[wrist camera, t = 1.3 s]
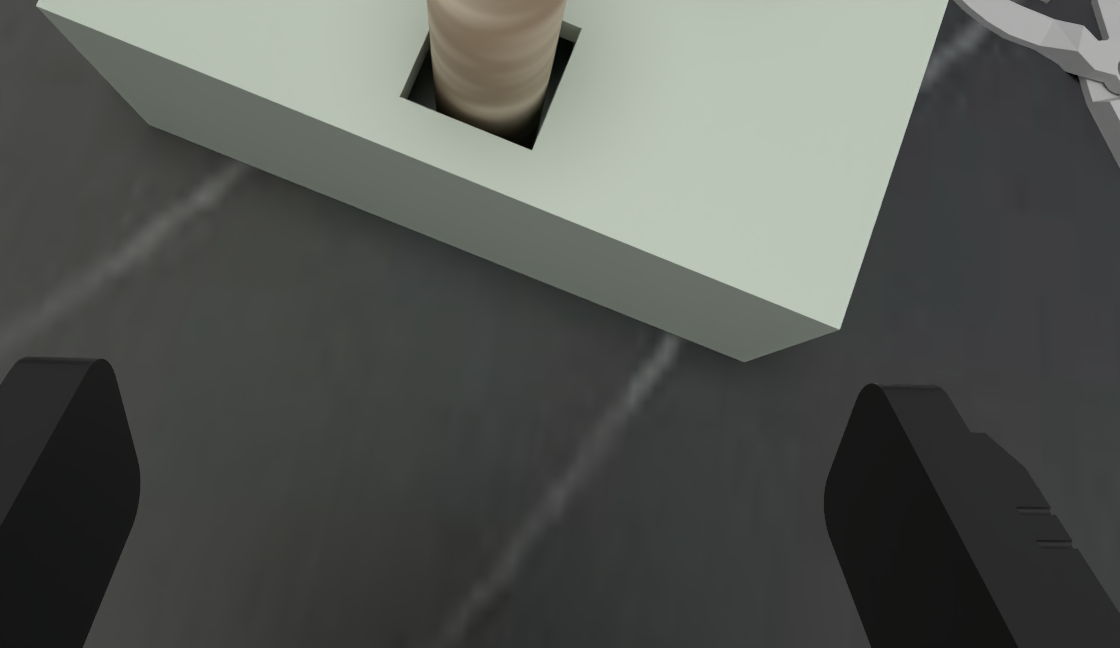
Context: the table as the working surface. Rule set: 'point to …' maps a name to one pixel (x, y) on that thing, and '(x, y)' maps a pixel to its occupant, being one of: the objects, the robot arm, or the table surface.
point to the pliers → (1067, 51)
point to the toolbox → (568, 139)
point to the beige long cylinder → (494, 62)
